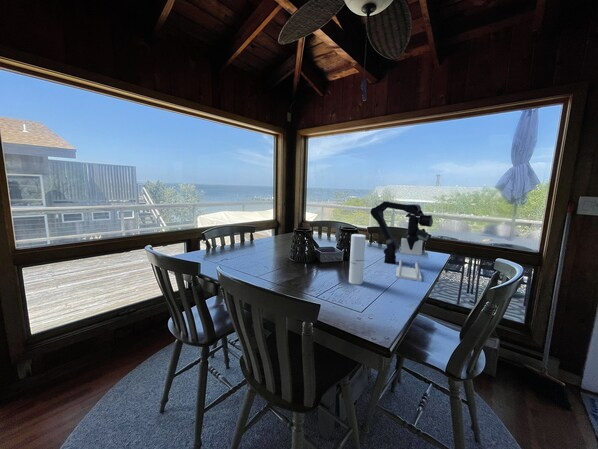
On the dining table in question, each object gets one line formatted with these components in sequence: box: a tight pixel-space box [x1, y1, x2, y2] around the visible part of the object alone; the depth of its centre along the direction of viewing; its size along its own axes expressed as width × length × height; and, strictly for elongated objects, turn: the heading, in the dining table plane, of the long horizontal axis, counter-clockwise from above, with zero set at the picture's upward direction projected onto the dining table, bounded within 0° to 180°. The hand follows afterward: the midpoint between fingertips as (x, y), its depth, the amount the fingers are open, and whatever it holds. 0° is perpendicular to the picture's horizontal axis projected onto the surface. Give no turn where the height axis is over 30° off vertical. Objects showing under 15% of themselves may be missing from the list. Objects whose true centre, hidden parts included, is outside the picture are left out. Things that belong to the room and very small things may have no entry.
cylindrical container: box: [348, 233, 367, 285], centre depth 132 cm, size 7×7×25 cm
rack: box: [395, 259, 423, 282], centre depth 147 cm, size 13×18×6 cm
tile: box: [399, 237, 423, 256], centre depth 158 cm, size 12×2×9 cm, turn 68°
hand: (410, 249), depth 159 cm, fingers closed on tile, 2 cm apart
